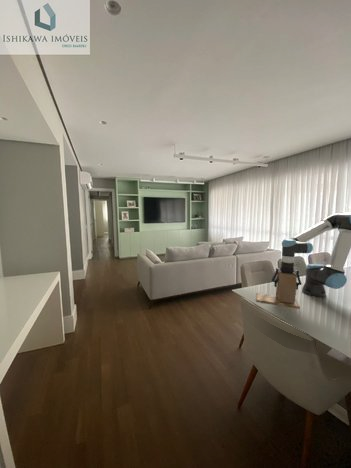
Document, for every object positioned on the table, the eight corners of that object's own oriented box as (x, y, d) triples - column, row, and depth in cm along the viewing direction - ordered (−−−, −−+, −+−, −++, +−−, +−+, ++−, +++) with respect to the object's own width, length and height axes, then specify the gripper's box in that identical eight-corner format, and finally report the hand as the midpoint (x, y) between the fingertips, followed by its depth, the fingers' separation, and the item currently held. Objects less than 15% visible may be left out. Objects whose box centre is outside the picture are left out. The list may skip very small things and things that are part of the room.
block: (295, 304, 130) (297, 275, 128) (279, 302, 132) (280, 274, 130) (290, 297, 139) (292, 271, 137) (275, 296, 142) (276, 270, 140)
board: (295, 300, 139) (295, 298, 139) (299, 308, 127) (299, 306, 127) (256, 294, 149) (256, 292, 149) (256, 301, 137) (256, 299, 137)
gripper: (305, 262, 132) (303, 293, 134) (268, 259, 140) (266, 288, 143) (308, 264, 125) (306, 297, 127) (269, 261, 134) (267, 292, 136)
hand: (285, 292), depth 135 cm, fingers closed on block, 10 cm apart
